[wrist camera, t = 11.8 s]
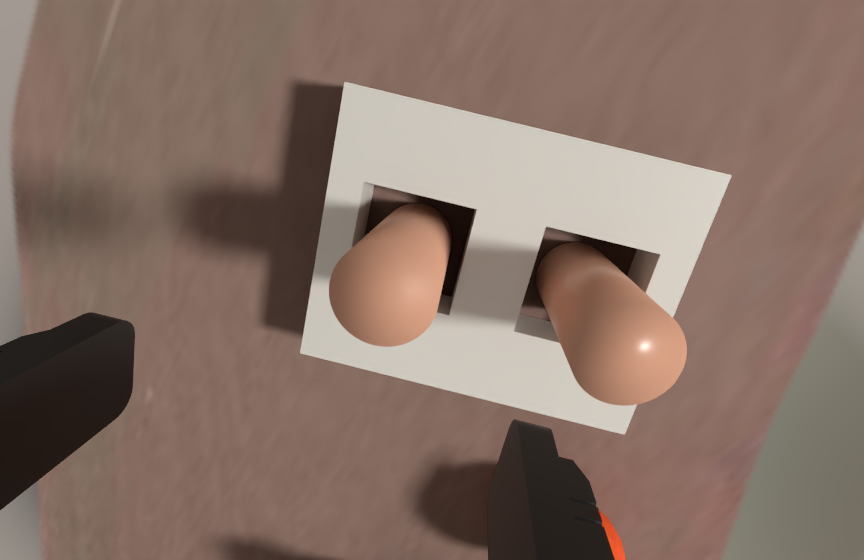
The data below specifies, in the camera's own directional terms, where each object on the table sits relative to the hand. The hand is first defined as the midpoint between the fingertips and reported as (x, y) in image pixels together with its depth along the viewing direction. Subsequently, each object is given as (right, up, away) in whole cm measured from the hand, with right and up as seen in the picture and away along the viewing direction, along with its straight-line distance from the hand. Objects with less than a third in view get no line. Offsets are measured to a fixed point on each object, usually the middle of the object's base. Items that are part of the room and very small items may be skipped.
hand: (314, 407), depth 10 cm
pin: (+2, +5, +17) cm, 18 cm away
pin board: (+6, +4, +17) cm, 18 cm away
